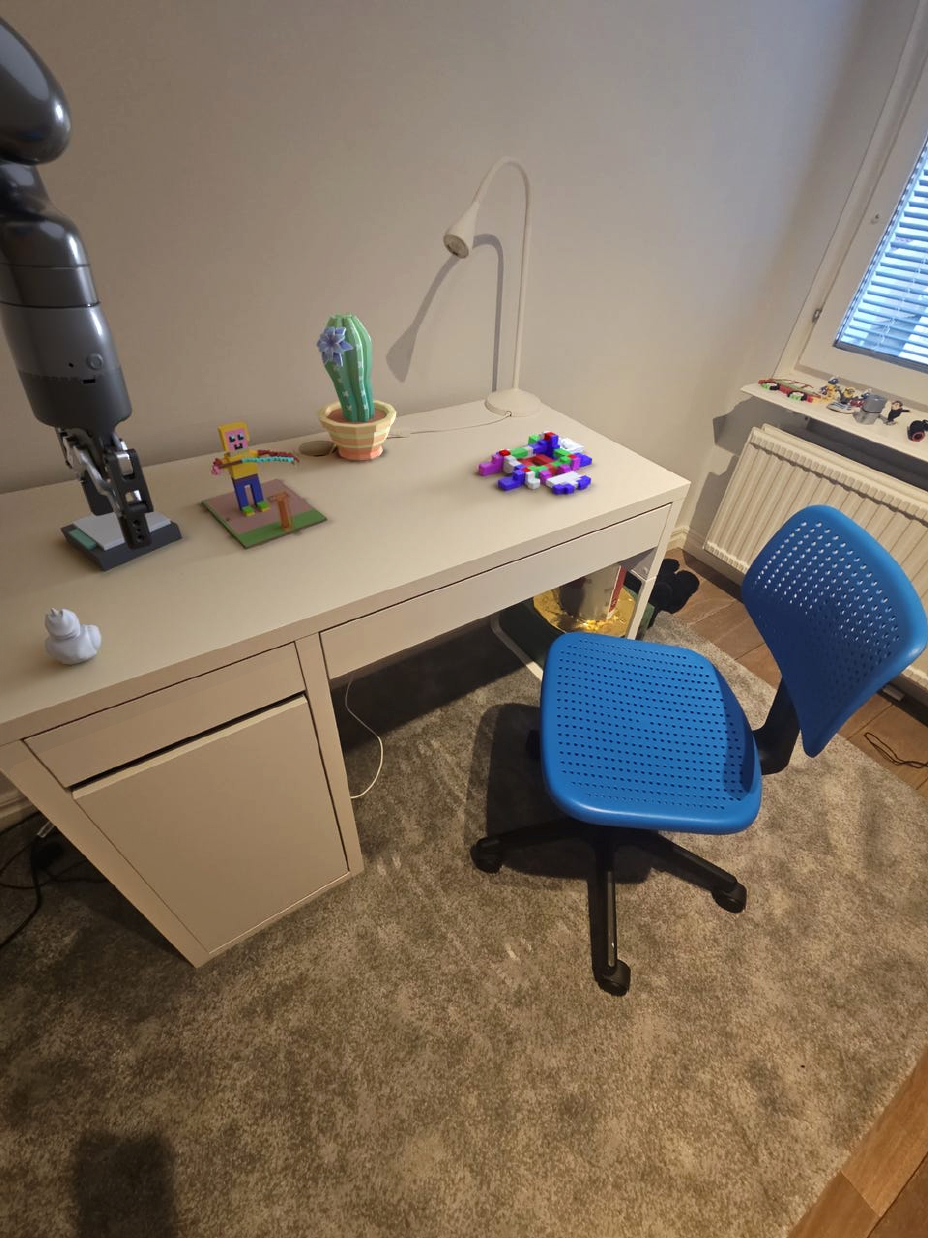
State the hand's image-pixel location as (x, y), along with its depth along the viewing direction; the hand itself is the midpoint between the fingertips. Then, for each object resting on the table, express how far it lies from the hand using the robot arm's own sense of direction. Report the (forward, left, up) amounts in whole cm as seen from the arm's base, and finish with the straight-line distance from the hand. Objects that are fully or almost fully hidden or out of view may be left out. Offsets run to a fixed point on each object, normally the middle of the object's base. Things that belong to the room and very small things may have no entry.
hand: (121, 529), depth 56 cm
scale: (+8, +28, -17) cm, 33 cm away
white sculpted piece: (-8, +7, -17) cm, 20 cm away
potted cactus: (+55, +25, -17) cm, 63 cm away
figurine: (+27, +19, -17) cm, 37 cm away
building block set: (+74, -8, -17) cm, 76 cm away
